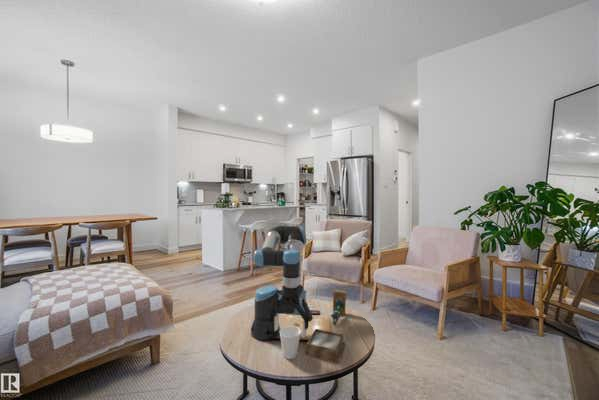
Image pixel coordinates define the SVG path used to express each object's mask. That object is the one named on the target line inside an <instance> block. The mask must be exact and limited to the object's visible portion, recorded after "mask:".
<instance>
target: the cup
mask: <svg viewBox="0 0 599 400" xmlns="http://www.w3.org/2000/svg"><path fill="white" fill-rule="evenodd" d="M279 333H280V334H279V336H280V344H281V352H282V356H283V357H284V358H285V359H287V360H291V359H295V358H296V357H297V354H298V349H299V348H298V347H299V344H300V337H301V334H302V330H301V329H300V327H298V326H295V325H286V326H283V327H280V330H279Z"/></svg>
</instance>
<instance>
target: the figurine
mask: <svg viewBox="0 0 599 400" xmlns="http://www.w3.org/2000/svg"><path fill="white" fill-rule="evenodd" d="M332 295H333V297H332V298H333V300H332V301H333V302H332V314H331V319H332V323H333V325H334V326H335V325H336V324H337V322H338V319H339V316H345V315H346V308H347V306H346V304H347V303H346V301H347V290H339V289H333V293H332Z"/></svg>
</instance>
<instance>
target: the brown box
mask: <svg viewBox="0 0 599 400" xmlns="http://www.w3.org/2000/svg"><path fill="white" fill-rule="evenodd" d="M345 347H346V342H345V341H344V334H343V333H337V332H333V331H328V330H323V329H319V328H315V329H314V330H313V333H312V334H311V336H310V337H309V338H308V341H307V343H306V348H305V349H304V354H303V355H306V356H309V357H314V358H317V359H322V360H326V361H330V362H334V363H338V364H340V363H341V359H342V356H343V353H344V350H345Z"/></svg>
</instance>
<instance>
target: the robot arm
mask: <svg viewBox="0 0 599 400" xmlns="http://www.w3.org/2000/svg"><path fill="white" fill-rule="evenodd" d="M306 244H307V237H306V230H305V227H303V226H300V225H296V226H295V225H293V226H292V225H278V226H274V227H272V228H270V229H269V230H267V232H266V233H265V236H264V241H263V245H262V247H261V249H256V250H255V251H254V252H253V264H254V265H255V266H259V267H282V286H281V287H282V288H281V289H278V287H277V286H276V285H265V286H261V287H259V288H258V289H256V291H255V293H254V319H253V322H252V324H251V327H250V335H251V337H252V338H254V339H255V340H258V341H270V340H273V339H276V338H277V337H278V336H280V334H279V330H280V329H281V325H280V323H279V318H280V316H279V315H300V316H301V318H302V320H303V321H302V338H305V337H306V335H307V330H308V328H309V322H311V321H312V320H313V319H314V317H313V315H312V311H310V307H309V305H308V303H307V291H306V290H305V289H304V286H303V284H302V279H301V278H302V249H303V248H304V246H305V245H306ZM278 245H284V247H285V248H286V250H278V249H277V248H278Z"/></svg>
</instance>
